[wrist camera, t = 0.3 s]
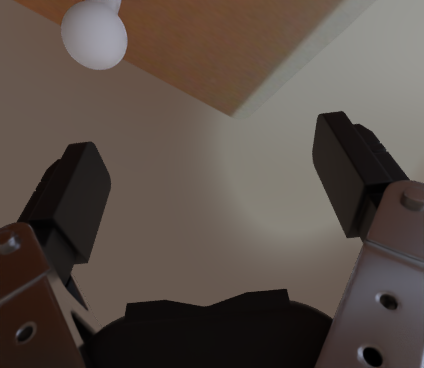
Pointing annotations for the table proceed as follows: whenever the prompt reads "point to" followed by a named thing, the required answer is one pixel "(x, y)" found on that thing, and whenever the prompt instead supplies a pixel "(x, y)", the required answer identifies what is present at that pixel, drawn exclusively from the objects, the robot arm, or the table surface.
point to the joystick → (94, 33)
